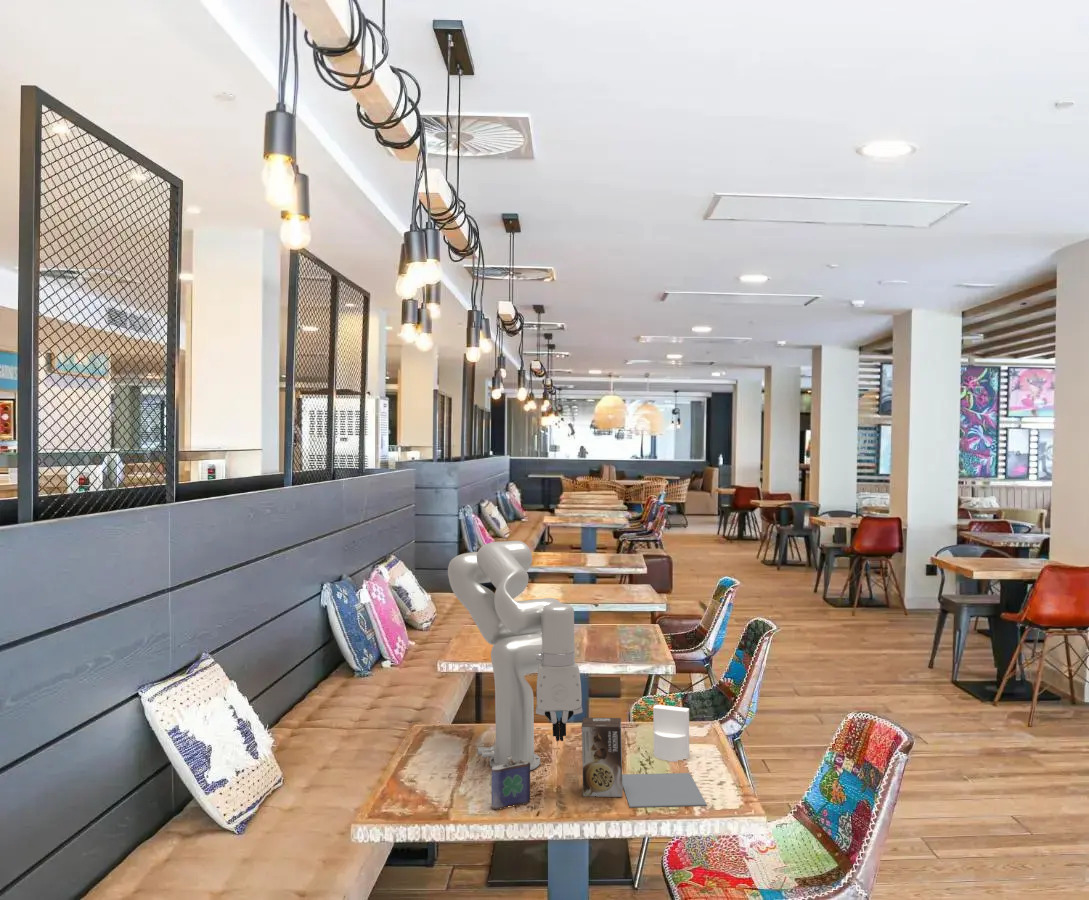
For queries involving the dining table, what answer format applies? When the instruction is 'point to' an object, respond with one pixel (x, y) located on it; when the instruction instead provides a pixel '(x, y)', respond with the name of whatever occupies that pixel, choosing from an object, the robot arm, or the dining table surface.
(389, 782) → the dining table surface
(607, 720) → the coffee box
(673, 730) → the cylinder with rectangular tab
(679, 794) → the mat
